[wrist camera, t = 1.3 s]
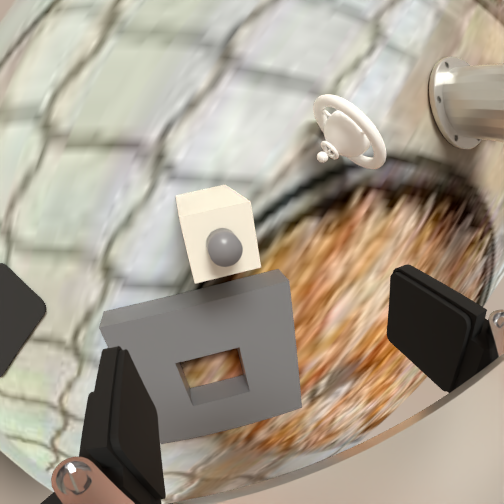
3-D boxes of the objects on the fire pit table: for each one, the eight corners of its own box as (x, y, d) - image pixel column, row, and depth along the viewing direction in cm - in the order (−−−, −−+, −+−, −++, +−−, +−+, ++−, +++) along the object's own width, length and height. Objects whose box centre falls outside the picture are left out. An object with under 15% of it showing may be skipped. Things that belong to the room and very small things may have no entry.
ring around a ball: (361, 152, 30) (412, 159, 23) (323, 188, 30) (370, 204, 23) (314, 90, 27) (361, 77, 20) (272, 125, 27) (309, 120, 20)
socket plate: (278, 268, 32) (289, 280, 29) (293, 392, 38) (301, 407, 36) (103, 311, 29) (99, 327, 26) (160, 426, 35) (161, 443, 32)
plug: (225, 184, 28) (257, 205, 18) (233, 232, 30) (267, 275, 20) (175, 195, 27) (179, 222, 17) (186, 243, 29) (197, 293, 19)
